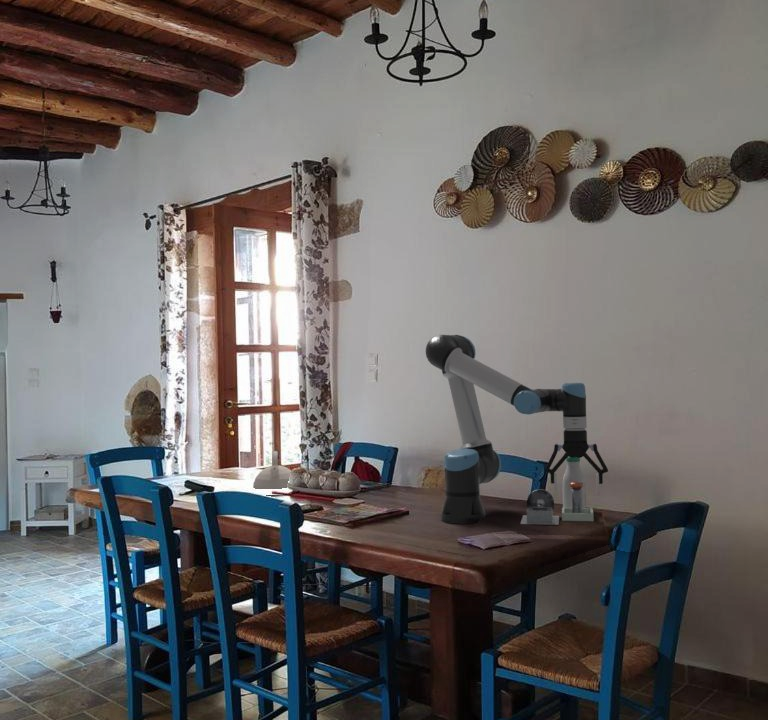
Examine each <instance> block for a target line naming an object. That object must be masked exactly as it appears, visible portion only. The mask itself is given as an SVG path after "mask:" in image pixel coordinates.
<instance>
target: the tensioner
mask: <svg viewBox="0 0 768 720" xmlns="http://www.w3.org/2000/svg"><path fill="white" fill-rule="evenodd" d="M526 506H527V508H526V514H523V515H522V518H521V521H520V525H548V526H549V525H551V526H552V525H555V526H556V525H557V526H559V524H560V515H553V510H554V508H555V499H554V497H553V495H552V494H551V493H550V492H549V491H548V490H546V489H545V488H544V489H541V488H537V489H534V490H533V491H531V492H530V493H529V495H528V497H527V499H526Z"/></svg>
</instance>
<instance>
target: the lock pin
mask: <svg viewBox="0 0 768 720" xmlns="http://www.w3.org/2000/svg"><path fill="white" fill-rule="evenodd" d="M570 487H572V513H582V489H581V487H583V483H582V482H570Z"/></svg>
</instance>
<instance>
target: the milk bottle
mask: <svg viewBox="0 0 768 720" xmlns="http://www.w3.org/2000/svg"><path fill="white" fill-rule="evenodd" d="M565 461H566V464H567V465H566V469H565V470H564V471H565V472H564V474H563V477H562V508H572V487H570V482H582V483H583V487H581V489H582V508H587V502H586V501H587V499H586V496H587V495H586V494H587V493H586V481H585V476H584V474H583V472H582V469H581V467H580V462H581V458H577V457H575V458H571V457H569V456H568V457H567V458H566V460H565Z"/></svg>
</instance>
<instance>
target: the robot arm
mask: <svg viewBox="0 0 768 720" xmlns="http://www.w3.org/2000/svg"><path fill="white" fill-rule="evenodd" d="M425 357H426V358H427V361H428V362H429V363H430V364H431V365H432V366H433V367H435V368H437V369H439V370H441V373H442V377H444V378H446V379H447V380H448V385H449V389H450V393H451V398H452V402H453V406H454V407H453V408H454V412H455V415H456V419H457V425H458V428H459V434H460V438H461V442H462V444H461V446H460V448H459V449H454V450H451V451H448V452H447V453H446V454H445V455H444V463H443V465H444V488H445V498H444V502H443V505H442V508H441V512H440V520H441V521H442V522H444V523H449V524H475V523H476V524H477V523H478V522H479V520H482V519H484V518H485V517H486V511H485V509H484V506H483V503H482V500H481V495H480V494H481V492H480V485H482V484H486V483H489V482H491V481H493V480H495V479H496V478H497V477H498V476H499V474H500V473H501V469H502V460H501V457H500V455H499V453H498V452H496V450H494V448H493V443H492V442H491V441H490V440H489V439H488V438H487V437H486V436H487V435H486V432H485V428H484V424H483V419H482V416H481V411H480V407H479V402H478V397H477V393H476V389H475V386H477V387H479V388H480V389H482V390H484V391H486V392H488V393H490V394H491V395H493V396H494V397H496V398H498V399H501V400H503V401H505V402H506V403H508V404H510V405H512V406H513V407H514V408H515V410H516V411H517V412H518V413H519V414H523V415H533V414H538V413H544V412H545V413H546V412H562V422H563V423H562V424H563V429H564V430H563V444H558V443H555V444H554V446H553V447H554V448H553V451H552V453H551V456H550V458H549V461H548V463H547V464H546V467H545V469H544V472H545V473H549V474H550V483H551V485H553V484H554V485H553V488H554V495H558V484H557V483H558V482H557V480H558V479H557V476H558V475H557V471H558V469H559V468H560V467H561V465H562V464H563V463H564V462H565V461H566V458H567V457H568V456H569V457H571V458H575V457H577V458H580V459H581V458H582V457H583V458H584V459H585V460H586V462H588V463H589V465H591V466H592V468H593V469H595V471H596V472H597V473H596V474H595V475H596V494H597V495H600V485H602V484H603V483H604V480H603V479H604V478H603V477H604V474H605V473H608V472H609V470H608V467H607V465H606V463H605V461H604V459H603V458H602V456H601V454H600V452H599V451H598V446H597V444H596V443H593V444H589V443H588V432H587V430H586V429H587V427H588V425H587V422H588V421H587V394H586V393H587V392H586V386H585V384H584V383H583V382H564V383H562V385H561V386H562V387H561V388H558V389H557V388H556V389H554V388H534V389H532V388H529V387H528V386H526V385H524V384H522V383H520V382H518V381H517V380H514V379H512V378H511V377H509V376H507V375H505V374H503V373H501V372H500V371H497V370H496V369H494V368H492V367H490V366H489V365H486V364H484V363H482V362H480V361H478V360H477V359H475V358H476V348H475V345H474V343H473V342H472V340H470V338H468V337H466V336H464V335H463V336H462V335H459V334H438V335H435V336H433V337H432V338H430V339H429V341H428V342H427V344H426V347H425ZM561 449H563V451H564V452H565V453H564V454H563V455H562V457H560V458H559V460H558V461H557V463H556V464H555V465H553V462H554V460H555V458H556V457H557V455H558V452H560V451H561ZM589 449H590V451H592V452H594V455H595V456H596V458H597V460H598V461H599V464H600V466H601V467H599V466H598V464H597V463H596V462H595V461H594V460H593V459H592V458H591V456H589V454H588V453H587V451H588V450H589ZM552 465H553V467H552V468H551V466H552Z"/></svg>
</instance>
